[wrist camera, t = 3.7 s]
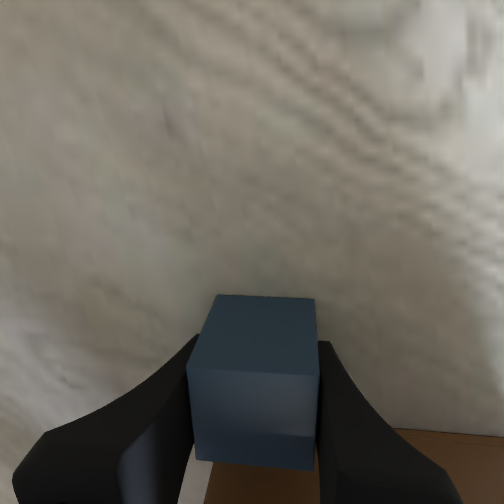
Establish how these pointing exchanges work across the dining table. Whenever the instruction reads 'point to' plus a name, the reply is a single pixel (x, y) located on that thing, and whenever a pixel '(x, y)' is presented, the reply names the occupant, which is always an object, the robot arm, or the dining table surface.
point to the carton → (428, 443)
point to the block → (256, 383)
